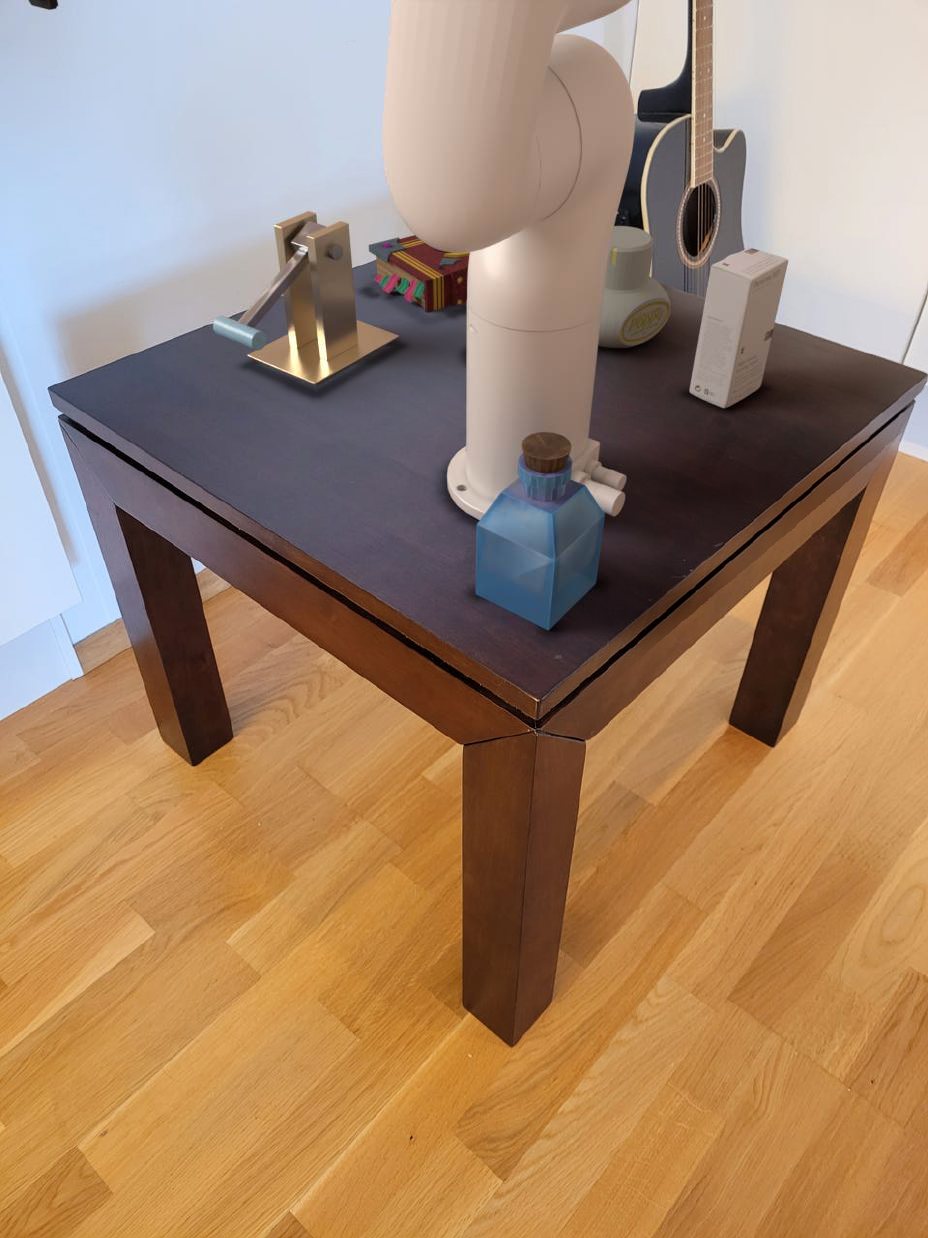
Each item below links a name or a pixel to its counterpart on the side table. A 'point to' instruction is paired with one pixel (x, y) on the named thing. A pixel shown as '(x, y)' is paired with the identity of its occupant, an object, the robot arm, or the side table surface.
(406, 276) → the decorative book
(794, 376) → the side table surface
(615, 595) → the side table surface
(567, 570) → the perfume bottle
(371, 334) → the bracket
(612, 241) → the air freshener
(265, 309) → the tap lever
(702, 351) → the cosmetic box
